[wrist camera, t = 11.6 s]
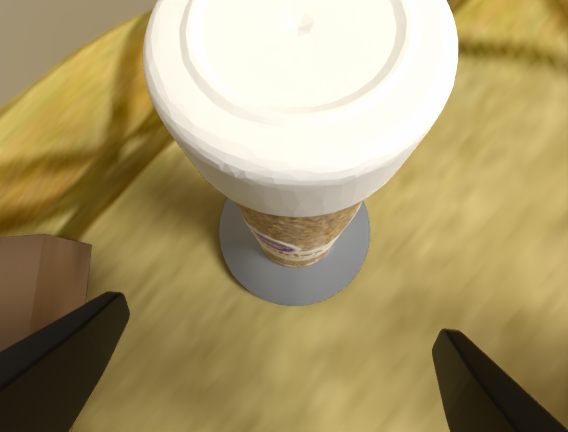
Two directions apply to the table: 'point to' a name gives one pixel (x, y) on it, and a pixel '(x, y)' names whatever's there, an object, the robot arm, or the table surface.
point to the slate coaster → (286, 280)
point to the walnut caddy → (39, 283)
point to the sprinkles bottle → (299, 103)
